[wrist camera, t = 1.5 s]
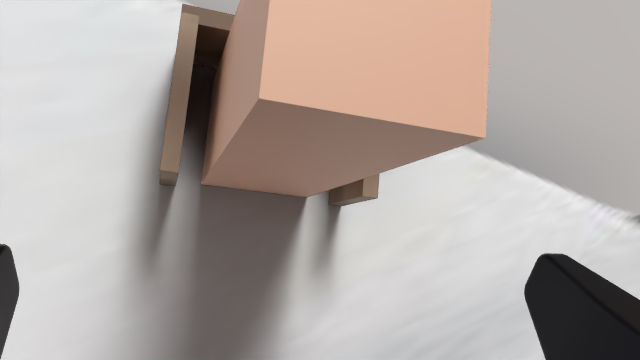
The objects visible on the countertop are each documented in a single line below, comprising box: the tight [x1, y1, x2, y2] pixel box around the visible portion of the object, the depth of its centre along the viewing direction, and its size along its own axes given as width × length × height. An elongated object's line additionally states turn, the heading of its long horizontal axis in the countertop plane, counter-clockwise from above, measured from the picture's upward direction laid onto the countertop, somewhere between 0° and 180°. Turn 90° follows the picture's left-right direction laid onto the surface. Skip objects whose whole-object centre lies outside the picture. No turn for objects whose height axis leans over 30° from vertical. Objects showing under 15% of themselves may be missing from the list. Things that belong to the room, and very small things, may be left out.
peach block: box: [201, 0, 491, 197], centre depth 16 cm, size 4×4×13 cm
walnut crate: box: [160, 4, 379, 206], centre depth 20 cm, size 6×8×4 cm
